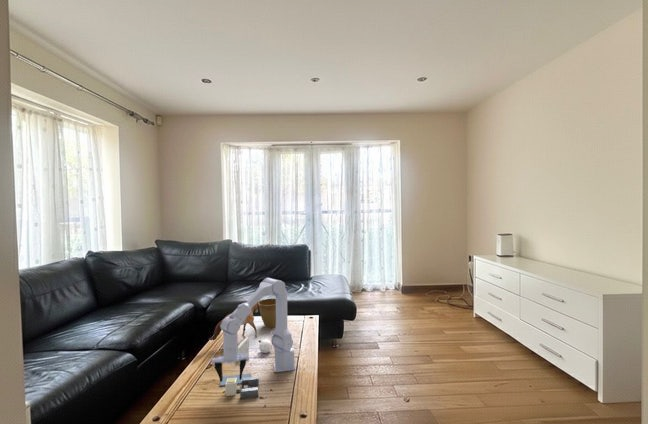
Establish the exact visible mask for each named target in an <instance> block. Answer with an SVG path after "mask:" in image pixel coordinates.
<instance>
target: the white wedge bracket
mask: <svg viewBox="0 0 648 424" xmlns="http://www.w3.org/2000/svg"><path fill="white" fill-rule="evenodd" d="M245 337H246V338H245V339H243V340H242V341H241V342H240V343H238V354H242V355H249V356H250V352H249V351H250V346H249V345H250V343H249V342H250V341H249V339H250V338H249V337H248V336H245Z"/></svg>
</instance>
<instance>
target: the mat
mask: <svg viewBox="0 0 648 424" xmlns="http://www.w3.org/2000/svg"><path fill="white" fill-rule="evenodd" d="M239 377H240V373H239V374H233V375H232V374H231V375H223V379H222V382H220V381H219V382H220V383H219V387H221V388H222V387H226V381H227V378H237V386H239V385H242V378H249V377H252V372H250V373H242V378H241V380H240V378H239Z"/></svg>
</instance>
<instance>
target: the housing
mask: <svg viewBox="0 0 648 424" xmlns="http://www.w3.org/2000/svg"><path fill="white" fill-rule="evenodd" d="M259 379H260V378H259V376H251V377H249V378H242V384H241V388H240V389H241V390H240V392H239V395H240V396H239V397H240V400H245V399H246V400H247V399H253V398H259V383H260V382H259ZM244 385H248V388H245V389H243V388H244Z"/></svg>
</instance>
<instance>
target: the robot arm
mask: <svg viewBox="0 0 648 424" xmlns="http://www.w3.org/2000/svg"><path fill="white" fill-rule="evenodd" d="M265 296H274V297H275V299H276V326H275V329H274V330H273V331H272V337H271V340H270V342H271V344H272V346H273V349H274V363H273V372H274V373H281V372H290V371H295V365H296V364H295V363H296V361H295V360H296V359H295V348H294V347H293V344H294V339H293V338H292V333H291V332H290V330H289V329H288V291H287V288H286V283H285V282H284V281H282V280H280V279H275V278H271V277H265V278H263V280H262V281H261V282H260V283H259V287H258V288H256V290H255V291H254V292H253V293H252V295H251V296H250V297H249V298H248V300H247V301H246V302H243V303H241V304H240V303H239V304H238V305H237V307H236V309H235V310H234V311H233V312H232V313H229V314H230V316H229V317H227V316H225V317H224V318H223V319H222V320H223V321H222V320H221V321H222V323H221V325H220V327H221V329H222V330H221V331H222V335H223V336H222V337H223V338H222V341H223V344H222V346H223V355H222V356H217V357H212V359H211V365H212V366H214V370H215V371H216V373H217V375H218V378H219V382H222V379H223V376H224V375H223V364H228V365H229V364H233V363H237V362H239V374H240V377H239V378H240V380H241V378H242V374H243V373H244V369H245V367H246V364H247V362H249V360H250V354H249V355H242V354H238V346H239V343H238V341H239V340H238V339H239V338H238V333H239V331H240V330H241V326H242V325H241V324H242V322H243V321H244V320H245V319H246V318H247V316H248V315H249V314H250V313H251V308H252V307H253V306H254V305H255V304H256V303H257V302H259V301H261V300H263V298H264V297H265Z"/></svg>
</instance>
